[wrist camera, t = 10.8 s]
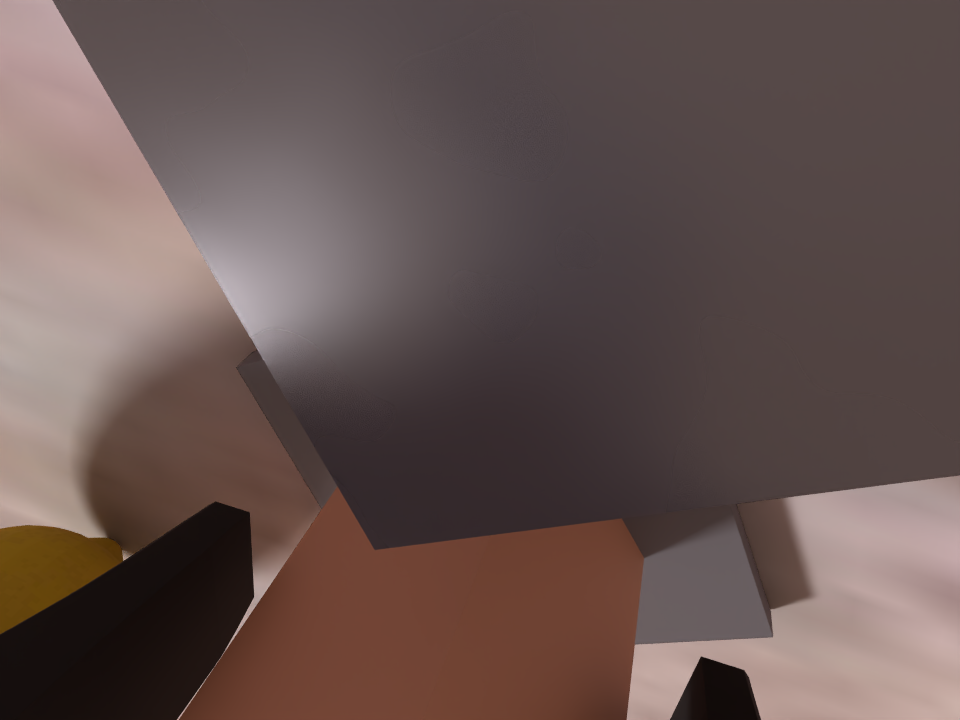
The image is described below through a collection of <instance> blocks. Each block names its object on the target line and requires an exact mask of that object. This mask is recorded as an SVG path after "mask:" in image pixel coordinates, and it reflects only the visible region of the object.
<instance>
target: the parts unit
mask: <svg viewBox="0 0 960 720" xmlns="http://www.w3.org/2000/svg"><path fill="white" fill-rule="evenodd" d="M53 2H54V3H55V5H56V7H57V9H58V10H59V12H60V14H61V15H62V17H63V19H64V21H65V22H66V24H67V26H68V27H69V29H70V31H71V33H72V34H73V36H74V38H75V39H76V41H77V43H78V44H79V46H80V48H81V50H82V51H83V53H84V55H85V56H86V58H87V60H88V62H89V63H90V65H91V67H92V68H93V70H94V72H95V73H96V75H97V77H98V79H99V80H100V82H101V84H102V85H103V87H104V89H105V91H106V92H107V94H108V96H109V97H110V99H111V101H112V102H113V104H114V106H115V108H116V109H117V111H118V113H119V114H120V116H121V118H122V120H123V121H124V123H125V125H126V126H127V128H128V130H129V132H130V133H131V135H132V137H133V138H134V140H135V142H136V143H137V145H138V147H139V149H140V150H141V152H142V154H143V155H144V157H145V159H146V161H147V162H148V164H149V166H150V167H151V169H152V171H153V172H154V174H155V176H156V178H157V179H158V181H159V183H160V184H161V186H162V188H163V190H164V191H165V193H166V195H167V196H168V198H169V200H170V201H171V203H172V205H173V207H174V208H175V210H176V212H177V213H178V215H179V217H180V219H181V220H182V222H183V224H184V225H185V227H186V229H187V231H188V232H189V234H190V236H191V237H192V239H193V241H194V242H195V244H196V246H197V248H198V249H199V251H200V253H201V254H202V256H203V258H204V260H205V261H206V263H207V265H208V266H209V268H210V270H211V271H212V273H213V275H214V277H215V278H216V280H217V282H218V283H219V285H220V287H221V289H222V290H223V292H224V294H225V295H226V297H227V299H228V301H229V302H230V304H231V306H232V307H233V309H234V311H235V312H236V314H237V316H238V318H239V319H240V321H241V323H242V324H243V326H244V328H245V330H246V331H247V333H248V335H249V336H250V338H251V340H252V341H253V343H254V345H255V347H256V348H257V350H258V352H259V353H260V355H261V357H262V359H263V360H264V362H265V364H266V365H267V367H268V369H269V370H270V372H271V374H272V376H273V377H274V379H275V381H276V382H277V384H278V386H279V388H280V389H281V391H282V393H283V394H284V396H285V398H286V400H287V401H288V403H289V405H290V406H291V408H292V410H293V411H294V413H295V415H296V417H297V418H298V420H299V422H300V423H301V425H302V427H303V429H304V430H305V432H306V434H307V435H308V437H309V439H310V440H311V442H312V444H313V446H314V447H315V449H316V451H317V452H318V454H319V456H320V458H321V459H322V461H323V463H324V464H325V466H326V468H327V469H328V471H329V473H330V475H331V476H332V478H333V480H334V481H335V483H336V485H337V487H338V488H339V490H340V492H341V493H342V495H343V497H344V499H345V500H346V502H347V504H348V505H349V507H350V509H351V510H352V512H353V514H354V516H355V517H356V519H357V521H358V522H359V524H360V526H361V528H362V529H363V531H364V533H365V534H366V536H367V538H368V539H369V541H370V543H371V545H372V546H373V548H374V550H379V549H387V548H395V547H403V546H411V545H418V544H426V543H434V542H442V541H450V540H457V539H465V538H473V537H481V536H489V535H496V534H504V533H512V532H520V531H528V530H536V529H543V528H551V527H559V526H567V525H575V524H582V523H590V522H598V521H606V520H614V519H621V518H629V517H637V516H645V515H653V514H661V513H668V512H676V511H684V510H692V509H700V508H707V507H715V506H723V505H731V504H739V503H746V502H754V501H762V500H770V499H778V498H785V497H793V496H801V495H809V494H817V493H825V492H832V491H840V490H848V489H856V488H864V487H871V486H879V485H887V484H895V483H903V482H910V481H918V480H926V479H934V478H942V477H950V476H957V475H960V0H53Z"/></svg>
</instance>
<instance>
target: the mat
mask: <svg viewBox="0 0 960 720" xmlns="http://www.w3.org/2000/svg"><path fill="white" fill-rule="evenodd" d="M236 368H237V370H238V372H239V373H240V375H241V376H242V378H243V380H244V381H245V383H246V385H247V386H248V388H249V390H250V391H251V393H252V395H253V396H254V398H255V400H256V401H257V403H258V405H259V406H260V408H261V410H262V411H263V413H264V414H265V416H266V418H267V419H268V421H269V423H270V424H271V426H272V428H273V429H274V431H275V433H276V434H277V436H278V438H279V439H280V441H281V443H282V444H283V446H284V448H285V449H286V451H287V452H288V454H289V456H290V457H291V459H292V461H293V462H294V464H295V466H296V467H297V469H298V471H299V472H300V474H301V476H302V477H303V479H304V481H305V482H306V484H307V485H308V487H309V489H310V490H311V492H312V494H313V495H314V497H315V499H316V500H317V502H318V504H319V505H320V507H321V509H322V508H323V507H324V505H325V504H326V502H327V501H328V500H329V498H330V497H331V495H332V494H333V492H334V491H335V489H336V488H337V485H336V483H335V481H334V480H333V478H332V476H331V475H330V473H329V471H328V469H327V468H326V466H325V464H324V463H323V461H322V459H321V458H320V456H319V454H318V452H317V451H316V449H315V447H314V446H313V444H312V442H311V440H310V439H309V437H308V435H307V434H306V432H305V430H304V429H303V427H302V425H301V423H300V422H299V420H298V418H297V417H296V415H295V413H294V411H293V410H292V408H291V406H290V405H289V403H288V401H287V400H286V398H285V396H284V394H283V393H282V391H281V389H280V388H279V386H278V384H277V382H276V381H275V379H274V377H273V376H272V374H271V372H270V370H269V369H268V367H267V365H266V364H265V362H264V360H263V359H262V357H261V355H260V353H259V352H258V351H255V352H252V353H251V354H250V355H249V356H248V357H247V358H246V359H245V360H243V361H242V362H241V363H240V364H239V365H238V366H237V367H236ZM622 520H623V522H624V523H625V525H626V527H627V529H628V530H629V532H630V534H631V536H632V538H633V539H634V541H635V543H636V545H637V546H638V548H639V550H640V552H641V553H642V555H643V557H644V564H643V573H642V582H641V591H640V600H639V609H638V618H637V628H636V637H635V644H653V643H672V642H691V641H710V640H729V639H748V638H767V637H773V631H772V619H771V611H770V608H769V605H768V602H767V598H766V595H765V592H764V589H763V586H762V583H761V580H760V577H759V573H758V570H757V567H756V564H755V561H754V558H753V555H752V552H751V549H750V545H749V542H748V539H747V536H746V533H745V530H744V527H743V524H742V521H741V517H740V514H739V511H738V508H737V505H736V504H731V505H723V506H715V507H707V508H700V509H692V510H684V511H676V512H668V513H661V514H653V515H645V516H637V517H629V518H622Z"/></svg>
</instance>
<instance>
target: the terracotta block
mask: <svg viewBox="0 0 960 720" xmlns="http://www.w3.org/2000/svg"><path fill="white" fill-rule="evenodd" d="M643 564H644V557H643V555H642V553H641V552H640V550H639V548H638V546H637V545H636V543H635V541H634V539H633V538H632V536H631V534H630V532H629V530H628V529H627V527H626V525H625V523H624V522H623V520H622V518H621V519H614V520H606V521H598V522H590V523H582V524H575V525H567V526H559V527H551V528H543V529H536V530H528V531H520V532H512V533H504V534H496V535H489V536H481V537H473V538H465V539H457V540H450V541H442V542H434V543H426V544H418V545H411V546H403V547H395V548H387V549H379V550H374V548H373V546H372V545H371V543H370V541H369V539H368V538H367V536H366V534H365V533H364V531H363V529H362V528H361V526H360V524H359V522H358V521H357V519H356V517H355V516H354V514H353V512H352V510H351V509H350V507H349V505H348V504H347V502H346V500H345V499H344V497H343V495H342V493H341V492H340V490H339V488H338V487H337V488H336V489H335V491H334V492H333V494H332V495H331V497H330V498H329V500H328V501H327V502H326V504H325V505H324V507H323V508H322V510H321V511H320V513H319V514H318V516H317V517H316V519H315V520H314V522H313V523H312V525H311V526H310V528H309V529H308V530H307V532H306V533H305V535H304V536H303V538H302V539H301V541H300V542H299V544H298V545H297V547H296V548H295V550H294V551H293V553H292V554H291V555H290V557H289V558H288V560H287V561H286V563H285V564H284V566H283V567H282V569H281V570H280V572H279V573H278V575H277V576H276V578H275V579H274V581H273V582H272V583H271V585H270V586H269V588H268V589H267V591H266V592H265V594H264V595H263V597H262V598H261V600H260V601H259V603H258V604H257V606H256V607H255V608H254V610H253V611H252V613H251V614H250V616H249V617H248V619H247V620H246V622H245V623H244V625H243V626H242V628H241V629H240V631H239V632H238V634H237V635H236V636H235V638H234V639H233V641H232V642H231V644H230V645H229V647H228V648H227V650H226V651H225V653H224V654H223V656H222V657H221V659H220V660H219V661H218V663H217V664H216V666H215V667H214V669H213V670H212V672H211V673H210V675H209V676H208V678H207V679H206V681H205V682H204V684H203V685H202V687H201V688H200V689H199V691H198V692H197V694H196V695H195V697H194V698H193V700H192V701H191V703H190V704H189V706H188V707H187V709H186V710H185V712H184V713H183V714H182V716H181V717H180V719H179V720H626V719H627V710H628V701H629V691H630V682H631V673H632V664H633V655H634V646H635V637H636V628H637V618H638V609H639V600H640V591H641V582H642V573H643Z"/></svg>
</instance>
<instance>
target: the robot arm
mask: <svg viewBox="0 0 960 720" xmlns="http://www.w3.org/2000/svg"><path fill="white" fill-rule="evenodd" d="M253 598H254V585H253V566H252V547H251V529H250V512H247V511H244V510H240V509H237V508H234V507H231V506H228V505H225V504H222V503H219V502H214V503H212V504H210V505H209V506H207V507H206V508H204V509H202V510H201V511H199V512H198V513H196V514H195V515H193V516H192V517H190V518H189V519H187V520H186V521H184V522H183V523H181V524H180V525H178V526H176V527H175V528H173V529H172V530H170V531H169V532H167V533H166V534H164V535H163V536H161V537H160V538H158V539H157V540H155V541H154V542H152V543H151V544H149V545H148V546H146V547H144V548H143V549H141V550H140V551H138V552H137V553H135V554H134V555H132V556H131V557H129V558H128V559H126V560H124V561H123V562H121V563H120V564H118V565H116V566H115V567H113V568H112V569H110V570H108V571H107V572H105V573H104V574H102V575H100V576H99V577H97V578H96V579H94V580H92V581H91V582H89V583H88V584H86V585H84V586H83V587H81V588H79V589H78V590H76V591H75V592H73V593H71V594H70V595H68V596H66V597H64V598H63V599H61V600H59V601H57V602H56V603H54V604H52V605H51V606H49V607H47V608H45V609H44V610H42V611H40V612H38V613H37V614H35V615H33V616H31V617H30V618H28V619H26V620H24V621H23V622H21V623H19V624H17V625H16V626H14V627H12V628H10V629H9V630H7V631H5V632H3V633H1V634H0V720H177V719H178V717H179V716H180V714H181V713H182V712H183V710H184V709H185V707H186V706H187V705H188V703H189V702H190V700H191V699H192V697H193V696H194V695H195V693H196V692H197V690H198V689H199V688H200V686H201V685H202V683H203V682H204V680H205V679H206V678H207V676H208V675H209V673H210V672H211V671H212V669H213V668H214V666H215V665H216V663H217V662H218V660H219V659H220V657H221V656H222V654H223V653H224V651H225V649H226V647H227V646H228V644H229V642H230V640H231V639H232V637H233V635H234V633H235V632H236V630H237V628H238V626H239V624H240V622H241V620H242V619H243V617H244V615H245V613H246V611H247V609H248V607H249V606H250V604H251V602H252V600H253ZM670 720H761V718H760V715H759V712H758V708H757V705H756V701H755V698H754V694H753V691H752V687H751V684H750V680H749V677H748V676H747V674H746V673H745V671H744V670H742V669H739V668H736V667H732V666H729V665H726V664H723V663H720V662H717V661H714V660H710V659H707V658H704V657H701V658H700V660H699V662H698V664H697V666H696V668H695V670H694V672H693V674H692V676H691V678H690V680H689V682H688V684H687V686H686V688H685V690H684V692H683V694H682V696H681V699H680V701H679V703H678V705H677V707H676V709H675V711H674V713H673V715H672V717H671V719H670Z"/></svg>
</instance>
